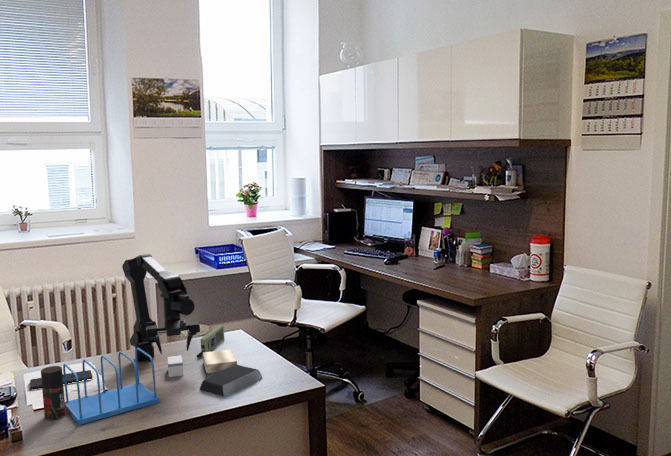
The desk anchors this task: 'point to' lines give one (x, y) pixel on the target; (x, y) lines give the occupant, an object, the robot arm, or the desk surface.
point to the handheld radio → (211, 339)
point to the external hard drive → (230, 380)
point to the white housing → (175, 366)
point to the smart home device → (69, 379)
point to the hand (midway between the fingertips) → (174, 352)
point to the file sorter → (110, 394)
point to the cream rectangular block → (218, 360)
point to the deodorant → (53, 393)
